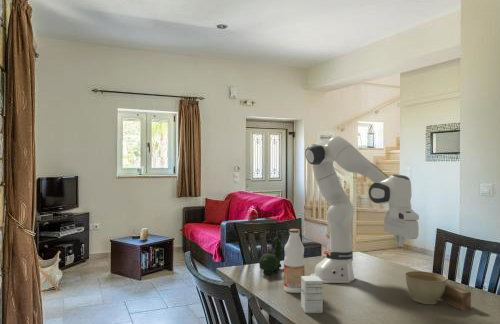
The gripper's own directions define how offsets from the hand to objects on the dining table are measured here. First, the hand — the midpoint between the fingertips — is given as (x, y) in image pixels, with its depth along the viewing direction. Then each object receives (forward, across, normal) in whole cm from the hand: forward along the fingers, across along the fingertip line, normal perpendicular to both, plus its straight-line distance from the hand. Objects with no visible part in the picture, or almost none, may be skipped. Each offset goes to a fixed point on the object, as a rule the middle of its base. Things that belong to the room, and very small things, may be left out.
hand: (399, 246), depth 169 cm
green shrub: (+25, -56, -40) cm, 74 cm away
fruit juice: (+24, -25, -38) cm, 52 cm away
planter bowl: (+24, 0, +13) cm, 27 cm away
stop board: (+24, 0, +22) cm, 33 cm away
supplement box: (+24, 0, -39) cm, 46 cm away
